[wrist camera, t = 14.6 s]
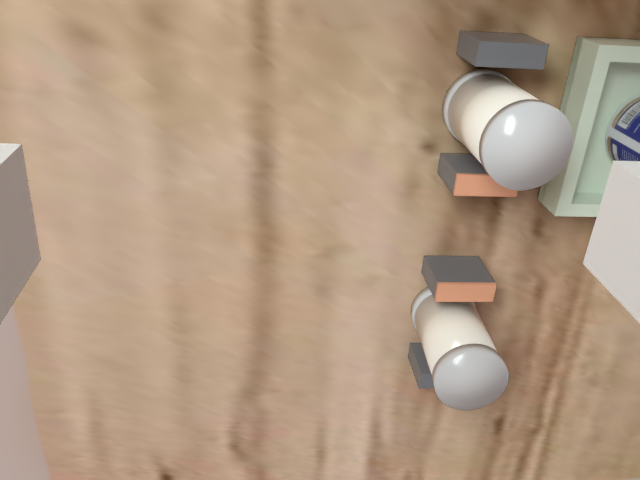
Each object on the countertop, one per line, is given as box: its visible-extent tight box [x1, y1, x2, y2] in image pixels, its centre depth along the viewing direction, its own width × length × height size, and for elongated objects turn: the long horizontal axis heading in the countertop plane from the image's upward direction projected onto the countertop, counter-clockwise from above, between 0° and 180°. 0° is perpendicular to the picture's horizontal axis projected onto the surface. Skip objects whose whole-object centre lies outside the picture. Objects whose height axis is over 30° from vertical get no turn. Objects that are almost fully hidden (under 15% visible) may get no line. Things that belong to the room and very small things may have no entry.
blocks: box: [408, 31, 549, 389], centre depth 45 cm, size 27×4×4 cm, turn 177°
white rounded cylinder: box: [411, 287, 509, 410], centre depth 47 cm, size 5×5×9 cm
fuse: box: [442, 69, 573, 191], centre depth 39 cm, size 5×5×9 cm
